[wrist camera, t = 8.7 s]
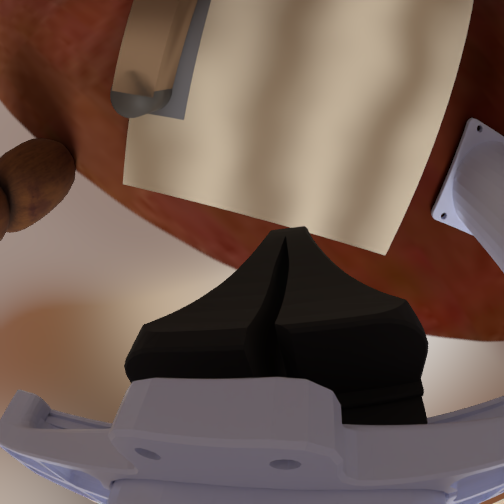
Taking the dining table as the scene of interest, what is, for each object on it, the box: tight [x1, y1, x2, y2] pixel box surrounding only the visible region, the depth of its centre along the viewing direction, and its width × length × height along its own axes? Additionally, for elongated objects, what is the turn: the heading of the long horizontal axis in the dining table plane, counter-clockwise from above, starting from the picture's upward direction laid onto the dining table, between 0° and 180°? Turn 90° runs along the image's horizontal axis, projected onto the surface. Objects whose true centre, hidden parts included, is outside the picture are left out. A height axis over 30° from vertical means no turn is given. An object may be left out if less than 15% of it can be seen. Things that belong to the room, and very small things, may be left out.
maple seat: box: [123, 0, 474, 255], centre depth 16 cm, size 18×20×3 cm
